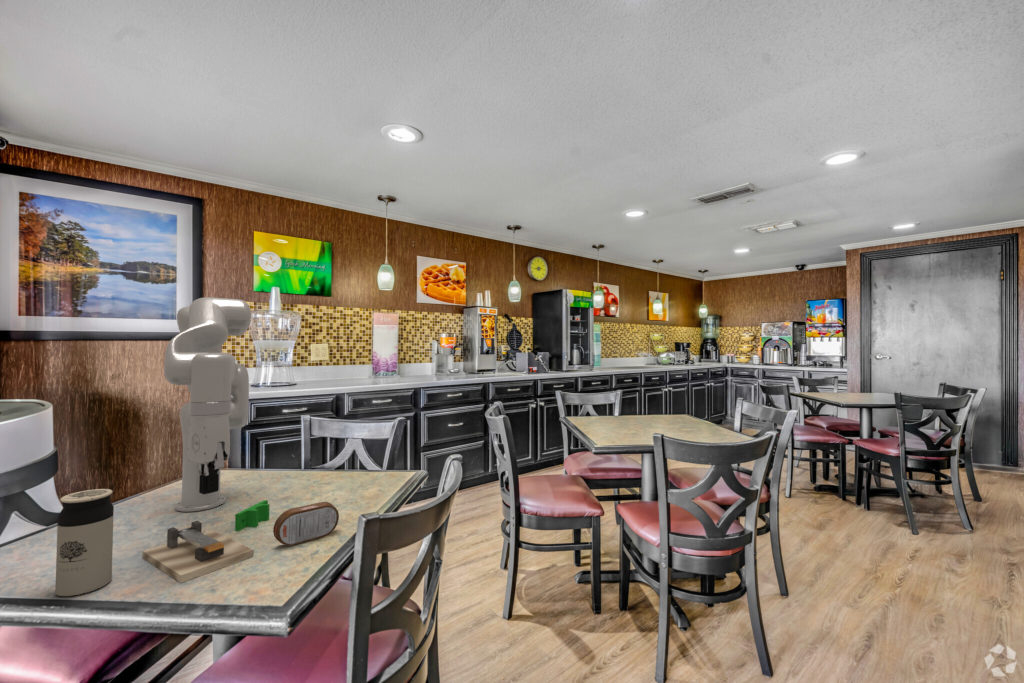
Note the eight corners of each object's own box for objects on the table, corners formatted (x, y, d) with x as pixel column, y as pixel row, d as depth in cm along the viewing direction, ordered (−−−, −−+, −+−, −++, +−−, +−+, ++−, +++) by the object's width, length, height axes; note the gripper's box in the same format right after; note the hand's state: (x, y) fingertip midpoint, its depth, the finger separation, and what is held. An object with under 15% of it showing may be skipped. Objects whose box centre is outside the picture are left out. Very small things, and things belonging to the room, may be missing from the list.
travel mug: (84, 576, 91) (87, 487, 92) (122, 577, 91) (124, 488, 92) (42, 597, 83) (45, 500, 84) (83, 598, 83) (86, 501, 84)
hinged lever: (175, 536, 103) (175, 530, 103) (190, 532, 106) (190, 526, 106) (208, 554, 94) (208, 547, 94) (223, 548, 97) (223, 542, 97)
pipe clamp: (248, 532, 115) (248, 514, 115) (234, 532, 115) (235, 514, 115) (276, 516, 126) (276, 500, 126) (263, 515, 126) (264, 499, 126)
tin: (335, 530, 116) (335, 497, 116) (340, 533, 114) (340, 500, 114) (272, 547, 105) (272, 511, 106) (276, 551, 103) (277, 515, 103)
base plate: (142, 557, 100) (142, 532, 100) (211, 536, 111) (212, 514, 112) (180, 583, 89) (181, 555, 89) (253, 556, 101) (253, 531, 101)
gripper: (176, 408, 100) (174, 490, 99) (207, 413, 92) (205, 503, 91) (213, 405, 106) (211, 482, 106) (245, 410, 98) (243, 494, 98)
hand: (208, 492), depth 99 cm, fingers closed
